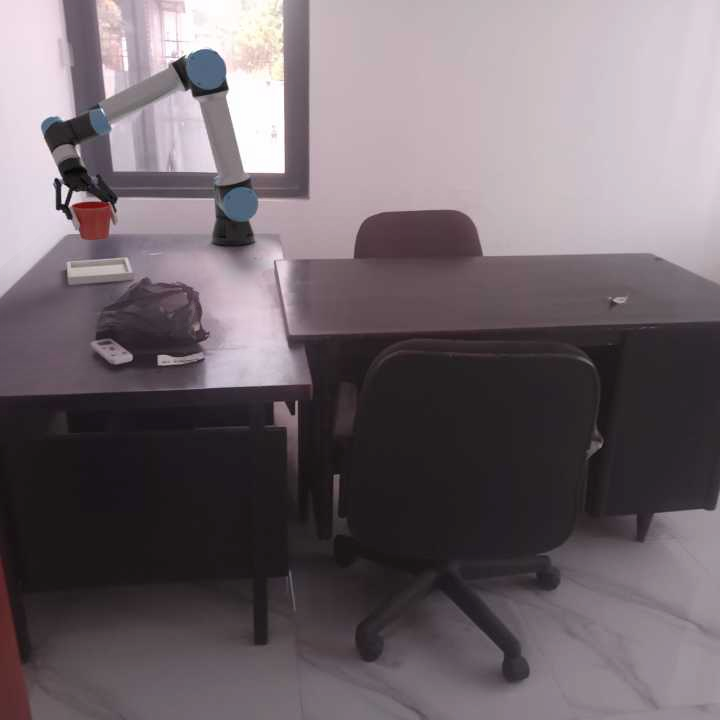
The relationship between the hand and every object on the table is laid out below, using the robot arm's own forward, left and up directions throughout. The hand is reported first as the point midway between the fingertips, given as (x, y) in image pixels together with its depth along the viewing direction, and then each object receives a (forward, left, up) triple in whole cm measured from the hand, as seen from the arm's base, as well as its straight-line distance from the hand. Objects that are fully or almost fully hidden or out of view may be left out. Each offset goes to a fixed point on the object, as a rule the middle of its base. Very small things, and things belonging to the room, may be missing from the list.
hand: (97, 225), depth 217 cm
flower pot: (+1, -3, -4) cm, 5 cm away
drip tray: (+1, -3, -15) cm, 16 cm away
